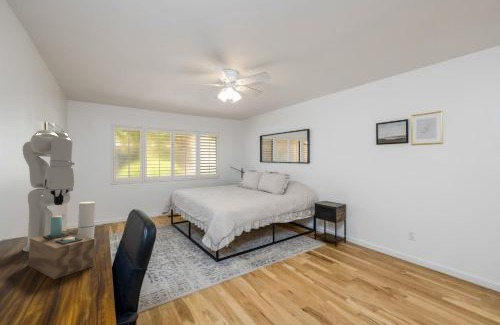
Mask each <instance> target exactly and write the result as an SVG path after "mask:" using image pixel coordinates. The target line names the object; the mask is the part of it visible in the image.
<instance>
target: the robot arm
mask: <svg viewBox="0 0 500 325" xmlns="http://www.w3.org/2000/svg"><path fill="white" fill-rule="evenodd" d="M72 154H73V140H72V139H71V138H70V136H69V135H68V133H66V132H62V131H56V130H55V131H54V130H48V129H47V130H46V129H41V130H38V131H37V132H35V134H33V135H32V136H31V138H30V141H27V142H24V143H23V146H22V155H23V158H24V161H25V162H26V163H27V166H28V171H29V182H30V186H31V187H32V188H33V190H30V191H29V192H28V194H27V203H28V204H27V205H28V225H27V227H28V228H27V245H26V246H24V247H23V248H22V251H24V252H26V253H29V246H30V238H34V237H39V236H44V235H50V228H51V217H52V216H54V214H53V212H52V210H51V209H50V208H48V207H51V206H63V205H66V204H69V203H70V200H71V192H73V191H74V187H75V186H74V185H75V174H74V169H73V167H72V166H75V164H76V163H75V162H74V161H72V157H73V156H72ZM41 157H46V158H47V157H49V160H50V161H49V163H48V162H47V161H46V160H45V159H44V158H41Z"/></svg>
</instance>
